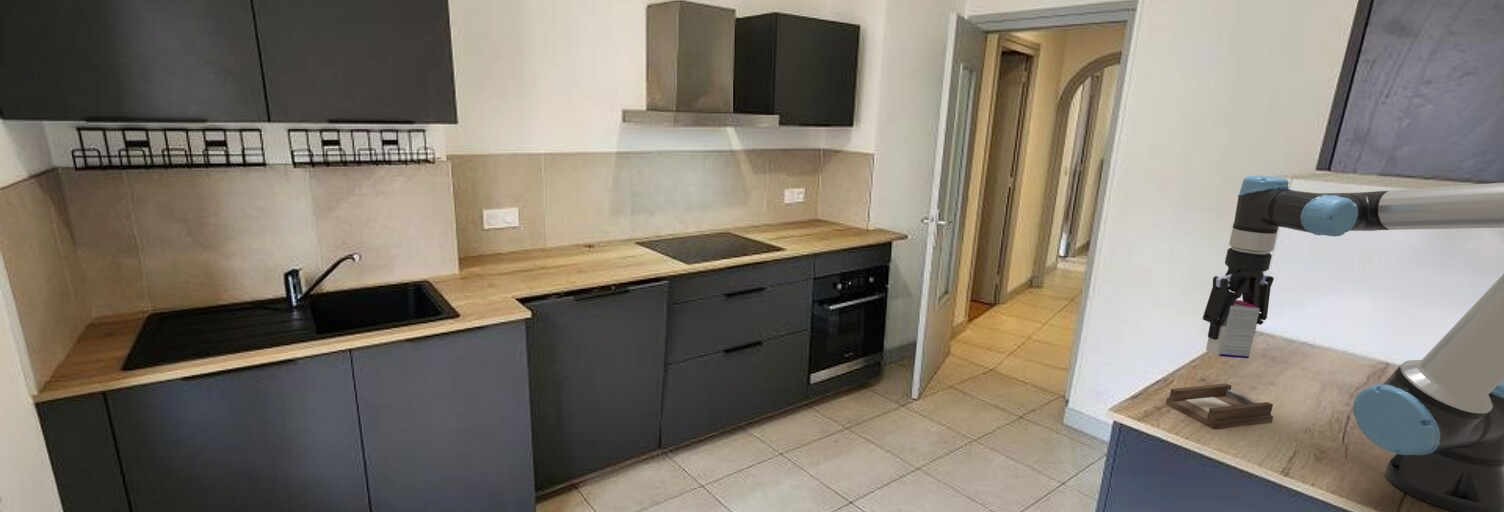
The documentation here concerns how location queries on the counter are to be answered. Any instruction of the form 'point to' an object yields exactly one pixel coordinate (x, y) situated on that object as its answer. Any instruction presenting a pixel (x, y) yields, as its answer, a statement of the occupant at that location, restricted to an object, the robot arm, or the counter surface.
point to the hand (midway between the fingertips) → (1227, 351)
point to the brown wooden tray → (1219, 406)
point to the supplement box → (1239, 330)
